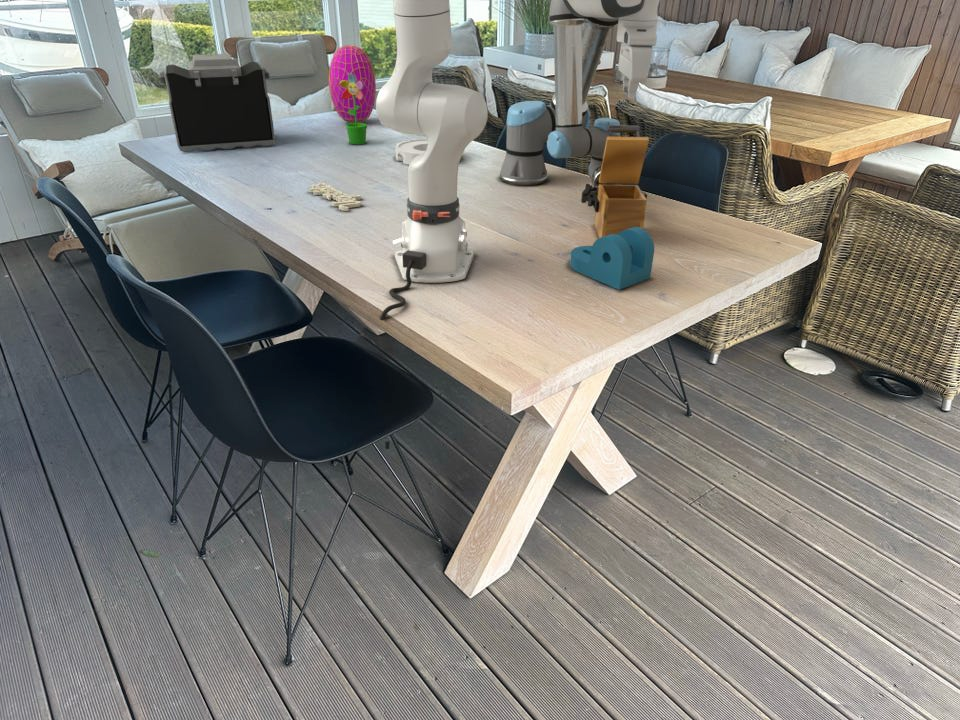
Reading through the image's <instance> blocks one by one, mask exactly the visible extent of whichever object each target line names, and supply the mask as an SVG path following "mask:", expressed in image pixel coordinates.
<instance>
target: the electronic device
mask: <svg viewBox="0 0 960 720" xmlns="http://www.w3.org/2000/svg"><path fill="white" fill-rule="evenodd" d="M187 66H188V68H187V69H186V68H184V67H181V66H179V65H176V64H165V66H164V71H161V72H159V83H161V84H165V85H166V89H167V94H168V107H169V111H170V115H171V120H172V125H173V130H174V135H175V140H176V144H177V148H178V150H179V152H183V153H192V152H194V151H198V150H202V151H204V152H209V151H213V150H215V149H222V150H233V149H235V148H236V147H238V148H239V147H242V148H245V149H247V148H251V149H252V148H253V147H255V146H262V147H272V146H273V145H275V144H276V135H275V134H276V133H275V128H274V119H273V114H272V105H271V99H270V96H269V95H268V88H267V87H268V85H267V79H270V78H271V76H270V72H269V71H268V70H267V68H265V67H262V66H261V64H260V63H259V62H258V61H249V62H248V63H245V64H244V65H242V66H240V64H239V63H238V61H237V60H235V59H233V58H232V56H231V54H230V53H217V54H211V55H210V54H209V55H208V54H207V55H206V54H203V53H202V54H193V55H192V59H191V60H190V61H188V62H187Z"/></svg>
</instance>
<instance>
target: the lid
mask: <svg viewBox="0 0 960 720" xmlns="http://www.w3.org/2000/svg"><path fill="white" fill-rule="evenodd" d="M607 132H608V133H609V136H607V140H606V145H605V150H604V156H603V161H602V166H601V172H600V177H599V183H616V184H622V185H638V184H639V182H640V178H641V174H642V171H643V166H644V162H645V158H646V153H647V150H648V146H649V142H650V140H649V139H650V138H649V136H641V135H640V125H623V124H620V125H608V127H607ZM612 133H620V134H635V136H620V137H613V136H612Z"/></svg>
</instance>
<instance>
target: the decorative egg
mask: <svg viewBox="0 0 960 720" xmlns="http://www.w3.org/2000/svg"><path fill="white" fill-rule="evenodd" d="M348 73H350V74H352V75H354V76H355V78H356V83H357V82H358V81H361V82H362V84H363V89H361V90H360V91H361V92H362V93H363V98H362V100H359V99H358V98H357V97H356V95H355V103H356V106H359V109H358V110H356V116H357V123H364V122H365V121H366V120H368V118H369V117H370V116H371V114H372V112H373V111H374V106H375V104H376V96H377V95H376V94H377V83H376V82H377V81H376V75H375V71H374V68H373V63H372V62H371V60H370V57H369V56H368V54H367V53H366V51H365V50H363V48H361V47H359V46H357V45H353V44H352V45H351V44H348V45H343V46H340V47H338V48H337V49H336V51H334V53H333V56H332V57H331V61H330V63H329V69H328V90H329V96H330V99H331V103H332V105H333V108H334V110H335V111H336V113H337V114H338V116H339V118H341V119H342V120H343V121H344V122H346V123H348V124H349V123H355V115H351V114H349V112H348V111H349V110H354V100H353V95H352V96H351V97H350V98H348V99H341V97H342V94H343V93H344V91H345V90H347V89H346V88H343V87H342V86H341V85H340V84H339V83H340V82H341V81H342V80H346V81H349V78H348Z"/></svg>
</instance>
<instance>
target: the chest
mask: <svg viewBox="0 0 960 720" xmlns="http://www.w3.org/2000/svg"><path fill="white" fill-rule="evenodd" d="M642 192H643V190H641V188H640V186H639V185H638V184H622V185H604V184H599V187H598V200H599V212H595V219H594V227H595V230H596V233H597V235H598V239H599V238H601V237H604V236H607V235H610V234H617V235H618V234H619V233H620V232H621V231H623V230H626V229H629V228H633V227H640V228H642V229H644V224H645V219H646V210H647V203H648V198H647V199H646V198H645V196H644V195H643V193H642Z"/></svg>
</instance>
